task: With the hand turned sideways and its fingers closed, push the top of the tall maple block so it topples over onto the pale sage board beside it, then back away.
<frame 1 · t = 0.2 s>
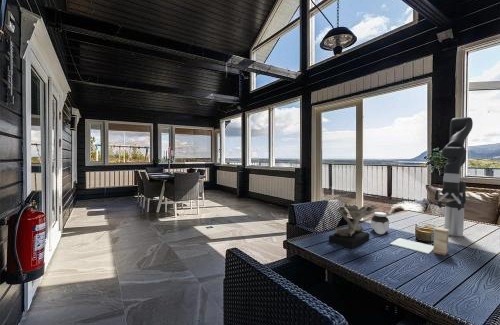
hand: (449, 209, 151), 18 cm above the table, tool pointing down, fingers open, 8 cm apart
maple block: (440, 252, 132), on the table
sage board: (412, 245, 141), on the table
coral: (355, 242, 147), on the table
spread jar: (380, 232, 165), on the table
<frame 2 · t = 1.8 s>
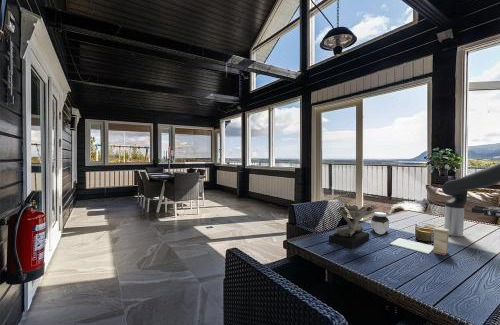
hand: (473, 208, 123), 24 cm above the table, tool horizontal, fingers open, 6 cm apart
nothing on the table moved.
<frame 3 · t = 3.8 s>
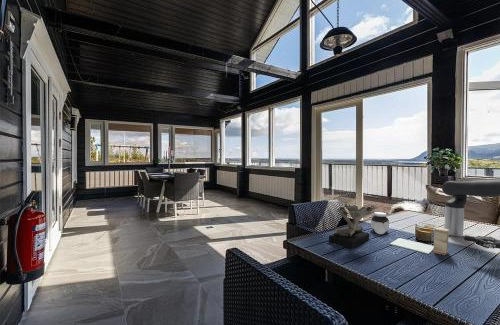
hand: (464, 237, 125), 10 cm above the table, tool horizontal, fingers closed
nothing on the table moved.
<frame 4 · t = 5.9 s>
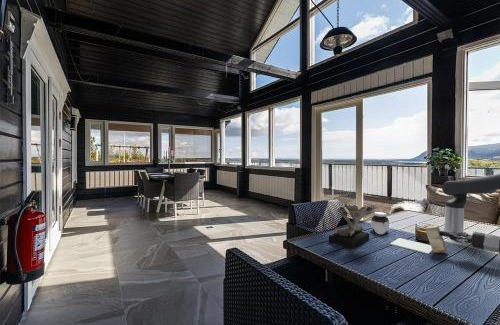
hand: (440, 232, 132), 10 cm above the table, tool horizontal, fingers closed
maple block: (440, 251, 132), point 1 cm above the table, tilted 20°
everything else where it was.
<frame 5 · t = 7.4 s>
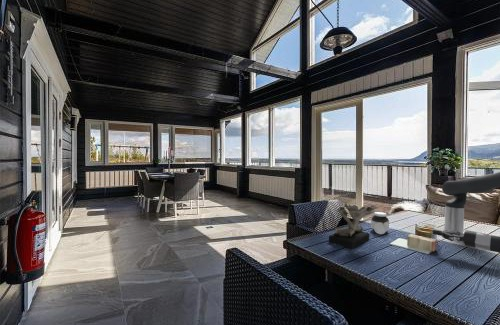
hand: (433, 231, 134), 10 cm above the table, tool horizontal, fingers closed
maple block: (435, 245, 133), point 3 cm above the table, tilted 90°, touching sage board
everything else where it was.
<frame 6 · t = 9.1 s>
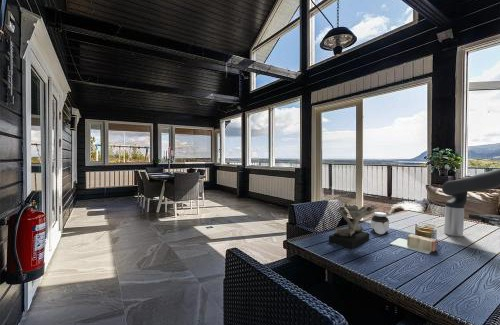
hand: (469, 215, 123), 21 cm above the table, tool horizontal, fingers closed
nothing on the table moved.
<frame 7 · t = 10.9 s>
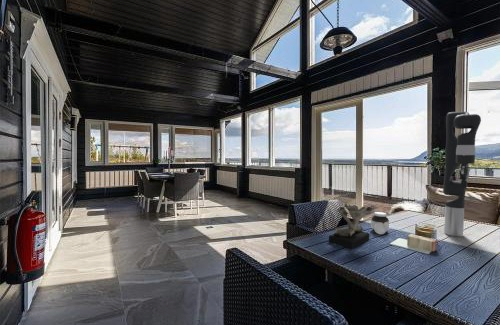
hand: (463, 187, 134), 33 cm above the table, tool pointing down, fingers closed
nothing on the table moved.
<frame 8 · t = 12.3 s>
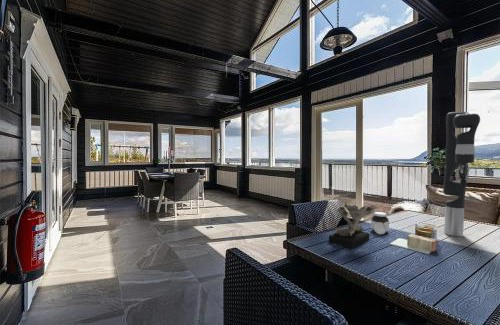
hand: (463, 187, 134), 33 cm above the table, tool pointing down, fingers closed
nothing on the table moved.
at the end: maple block tilted 90°; maple block inside the target area (4.6 cm from its centre), point 3.0 cm above the table; maple block touching sage board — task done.
